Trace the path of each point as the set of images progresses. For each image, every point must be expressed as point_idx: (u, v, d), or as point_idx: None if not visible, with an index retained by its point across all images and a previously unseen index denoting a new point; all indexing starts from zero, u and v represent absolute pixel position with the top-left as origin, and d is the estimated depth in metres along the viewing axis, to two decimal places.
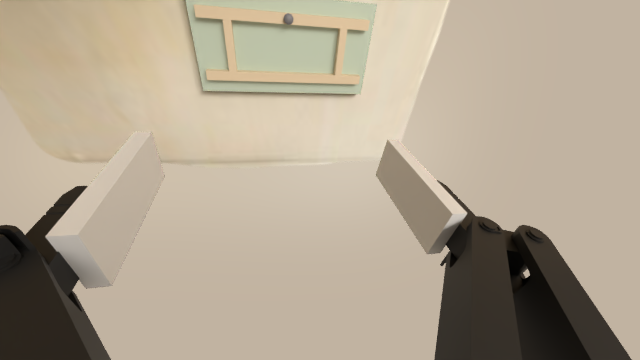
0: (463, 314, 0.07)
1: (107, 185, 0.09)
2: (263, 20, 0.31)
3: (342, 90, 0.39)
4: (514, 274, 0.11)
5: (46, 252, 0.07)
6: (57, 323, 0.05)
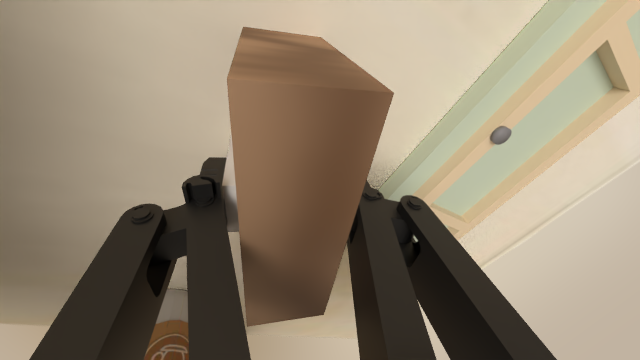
0: (370, 295, 0.07)
1: None
2: (465, 169, 0.18)
3: None
4: (407, 241, 0.11)
5: None
6: (224, 256, 0.07)
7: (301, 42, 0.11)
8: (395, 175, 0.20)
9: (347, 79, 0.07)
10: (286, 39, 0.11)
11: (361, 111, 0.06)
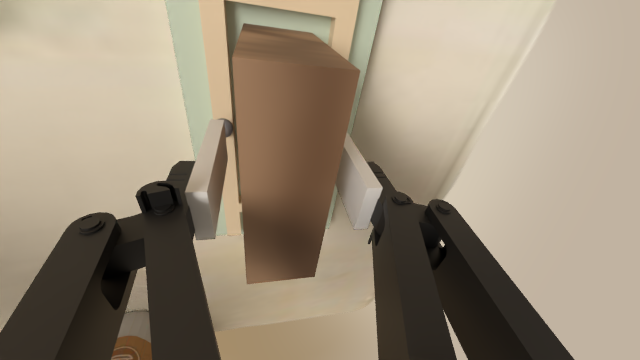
0: (393, 295, 0.08)
1: (210, 159, 0.11)
2: (232, 165, 0.18)
3: None
4: (433, 246, 0.11)
5: None
6: (188, 265, 0.07)
7: (293, 35, 0.13)
8: None
9: (325, 61, 0.08)
10: (280, 33, 0.13)
11: (335, 85, 0.08)
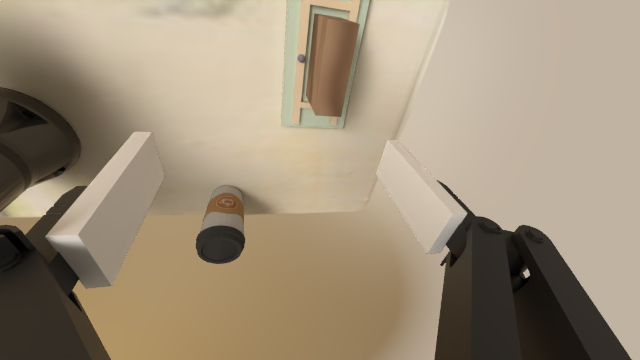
0: (463, 315, 0.07)
1: (107, 185, 0.09)
2: (301, 79, 0.40)
3: None
4: (514, 274, 0.11)
5: (46, 252, 0.07)
6: (57, 323, 0.05)
7: (335, 17, 0.35)
8: (282, 95, 0.43)
9: (350, 22, 0.30)
10: (330, 16, 0.35)
11: (353, 28, 0.30)
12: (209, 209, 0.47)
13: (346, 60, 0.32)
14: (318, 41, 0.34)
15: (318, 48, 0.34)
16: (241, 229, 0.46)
